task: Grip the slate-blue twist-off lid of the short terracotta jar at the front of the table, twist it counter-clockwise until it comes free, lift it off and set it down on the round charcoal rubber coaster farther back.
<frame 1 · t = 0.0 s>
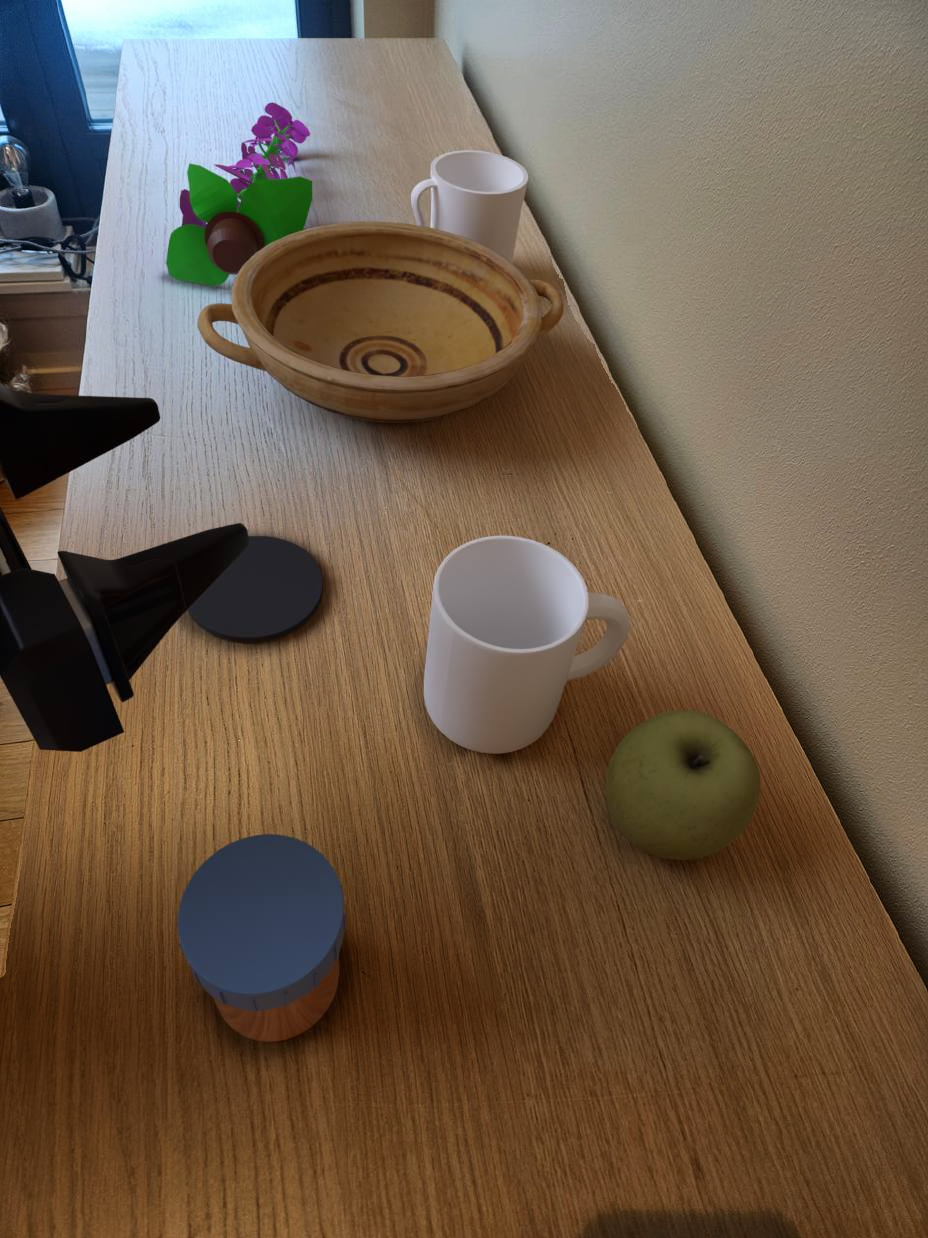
hand: (199, 467, 37), 18 cm above the table, tool horizontal, fingers open, 9 cm apart
mug 2: (458, 281, 85), on the table
coaster: (254, 589, 57), on the table
jar lid: (262, 912, 36), point 8 cm above the table, screwed on, not yet turned
mug: (517, 698, 54), on the table
ceramic bowl: (387, 382, 73), on the table
potted plant: (254, 223, 89), on the table
apple: (659, 820, 49), on the table
jar: (276, 975, 42), on the table
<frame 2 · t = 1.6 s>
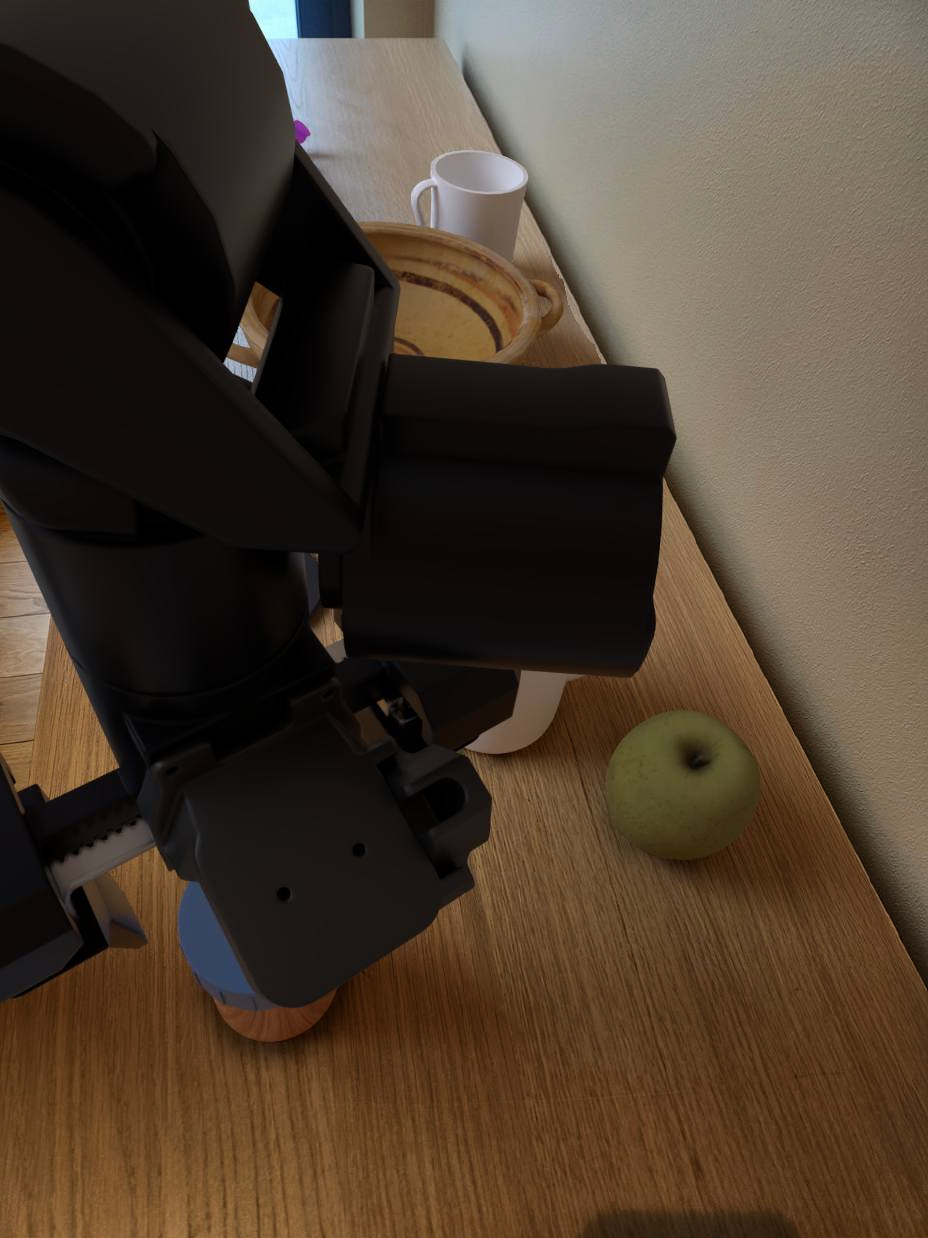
hand: (254, 869, 32), 12 cm above the table, tool pointing down, fingers open, 9 cm apart
nothing on the table moved.
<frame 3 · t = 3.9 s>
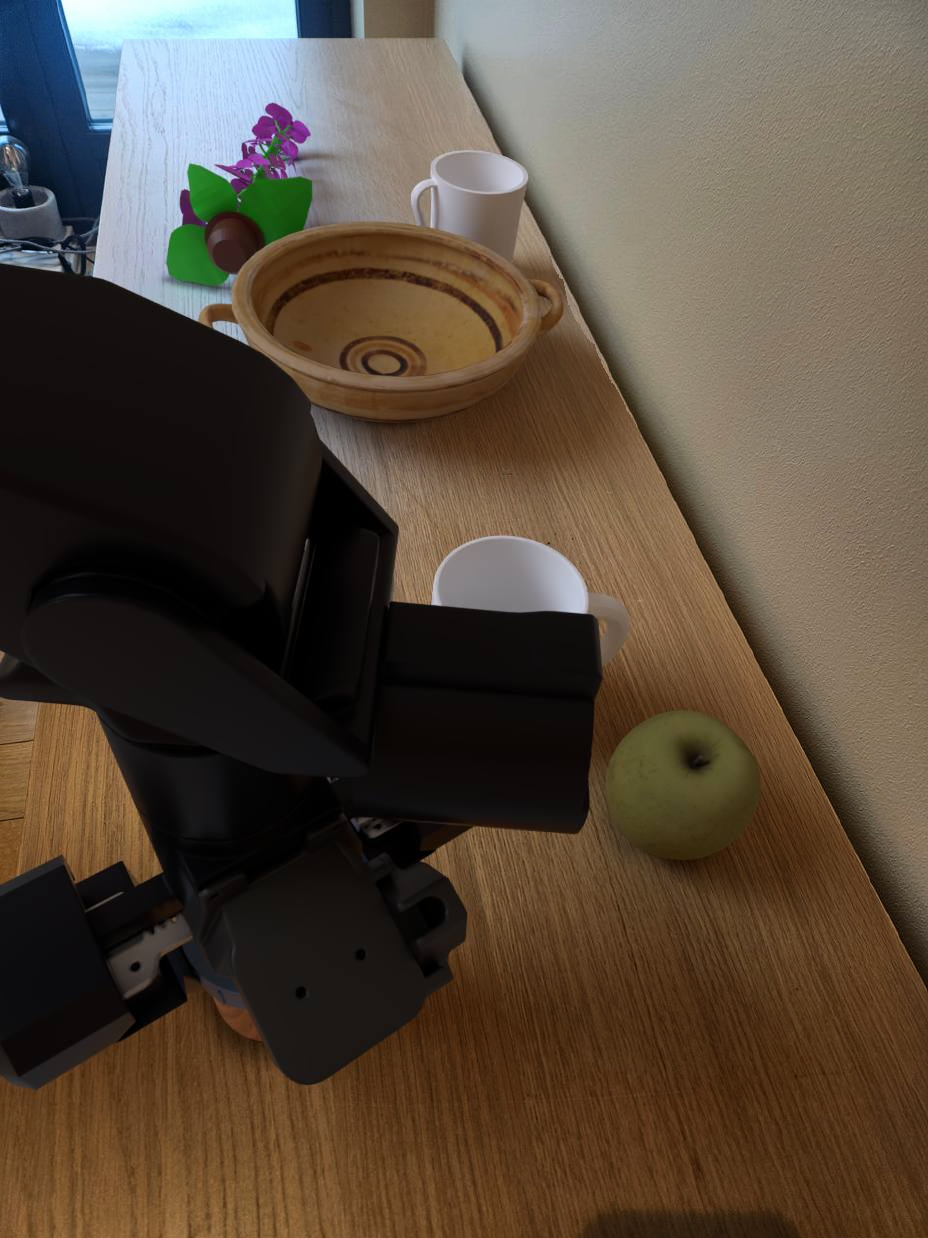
hand: (267, 937, 38), 5 cm above the table, tool pointing down, fingers closed on jar lid, 6 cm apart
jar lid: (262, 912, 36), point 8 cm above the table, screwed on, not yet turned, touching gripper
everything else where it was.
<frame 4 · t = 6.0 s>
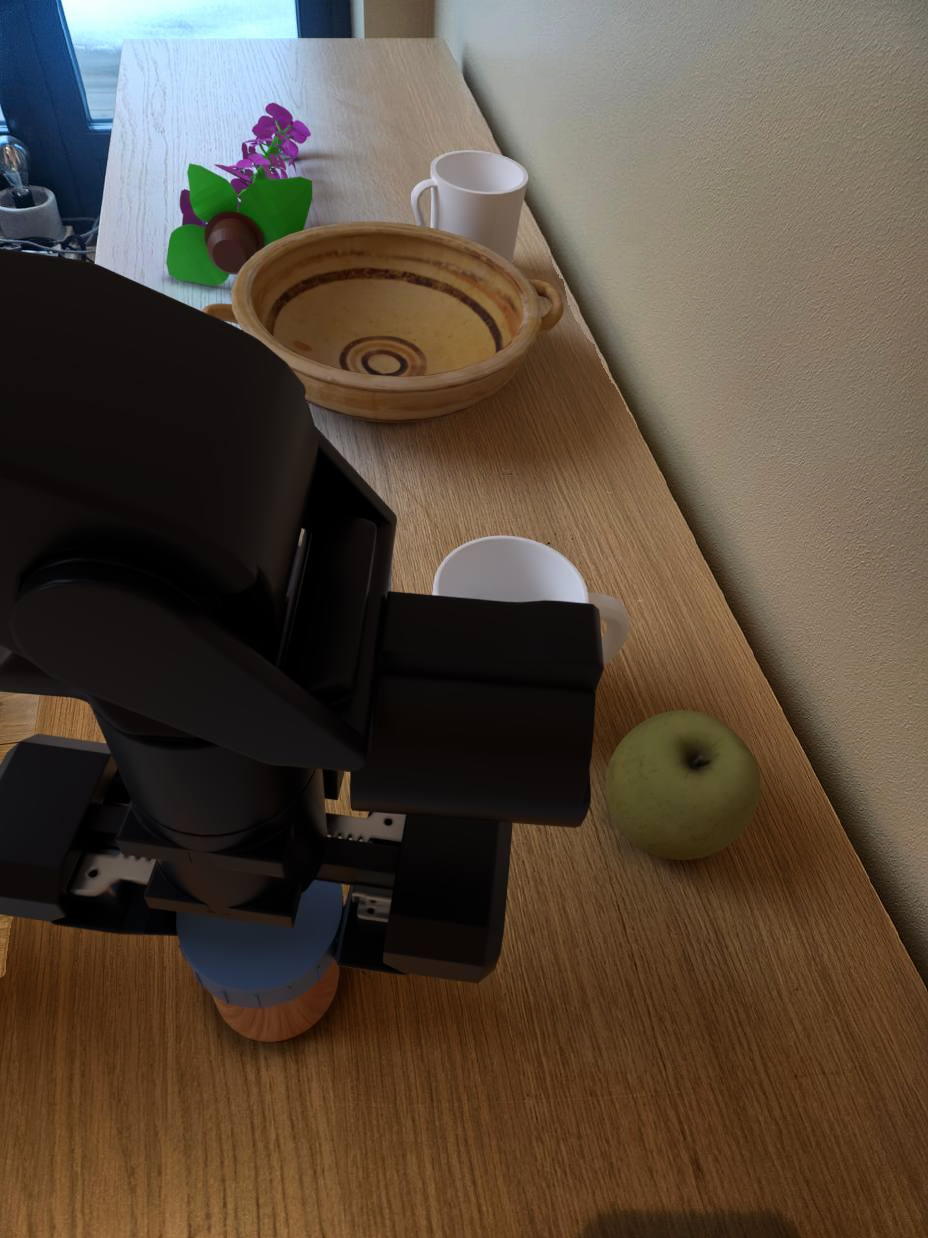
hand: (268, 934, 37), 6 cm above the table, tool pointing down, fingers closed on jar lid, 6 cm apart
jar lid: (261, 909, 35), point 8 cm above the table, turned 139° so far, risen 0.4 cm, still on its thread, touching gripper
everything else where it was.
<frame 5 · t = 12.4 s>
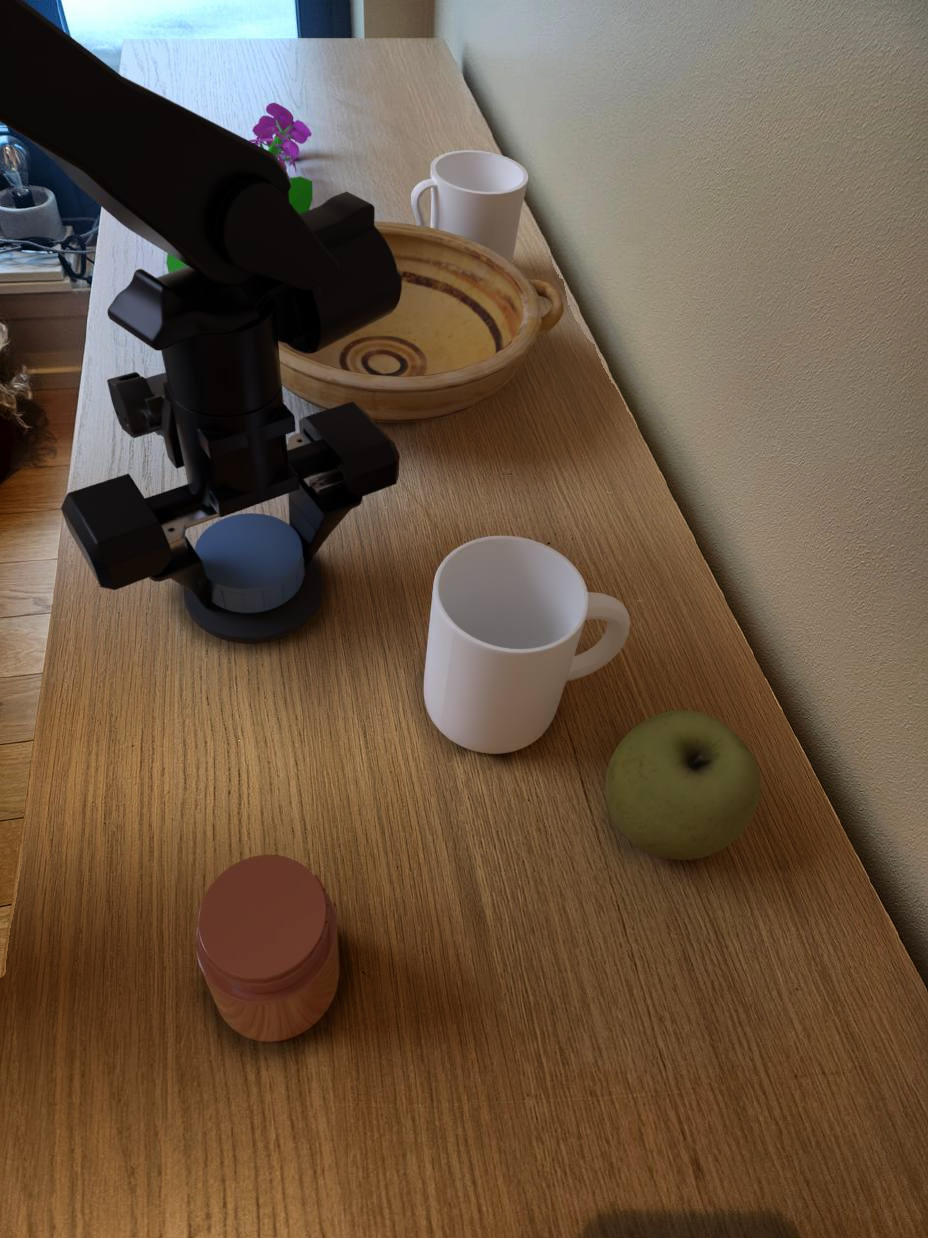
hand: (253, 583, 57), 1 cm above the table, tool pointing down, fingers closed on jar lid, 6 cm apart
jar lid: (249, 553, 54), point 3 cm above the table, off its thread, touching gripper
everything else where it was.
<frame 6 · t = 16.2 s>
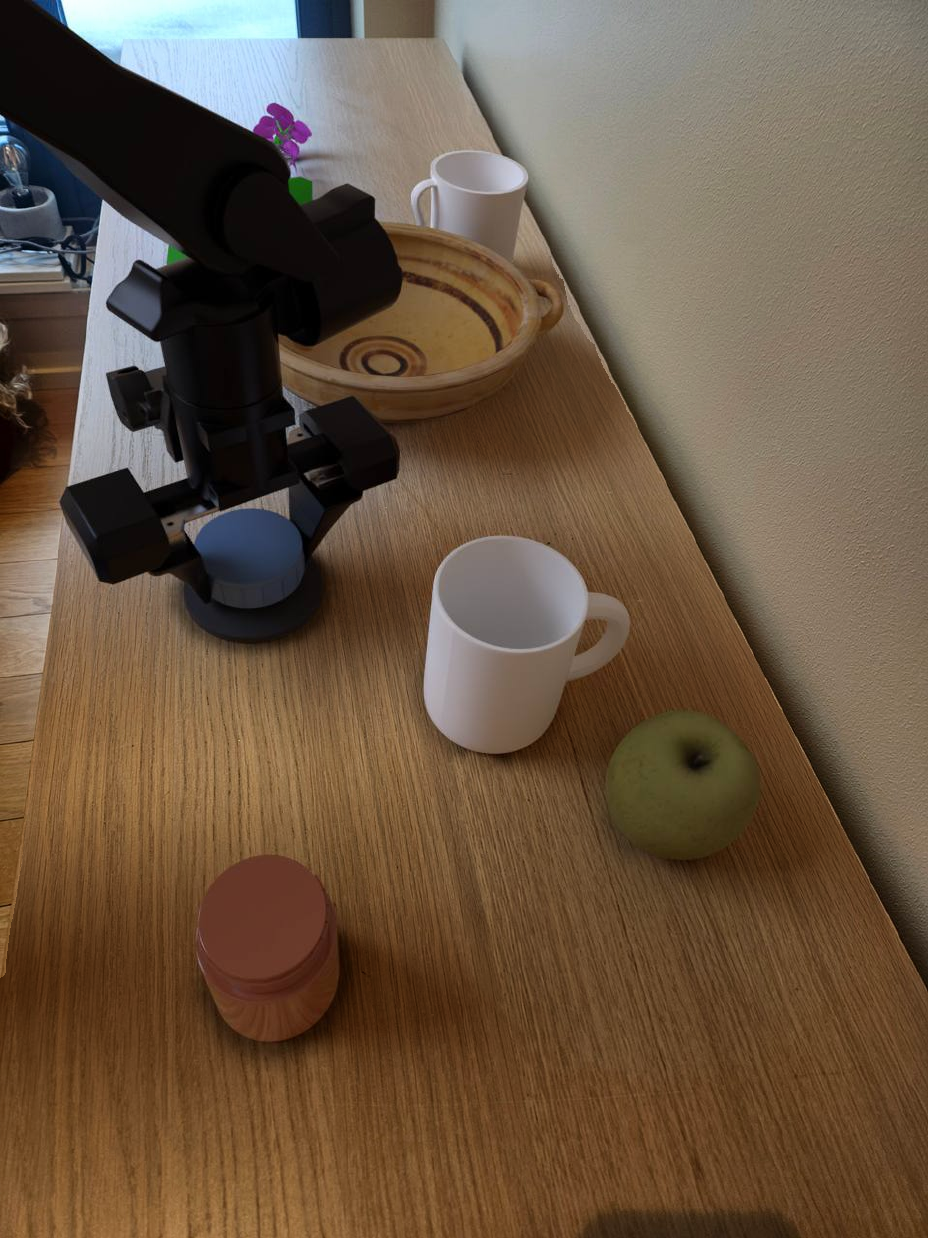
hand: (253, 579, 56), 1 cm above the table, tool pointing down, fingers closed on jar lid, 6 cm apart
jar lid: (249, 549, 54), point 4 cm above the table, off its thread, touching gripper
everything else where it was.
when the fingers open (1 cm above the table, at t = 19.9 s): jar lid drops 2 cm, resting on coaster.
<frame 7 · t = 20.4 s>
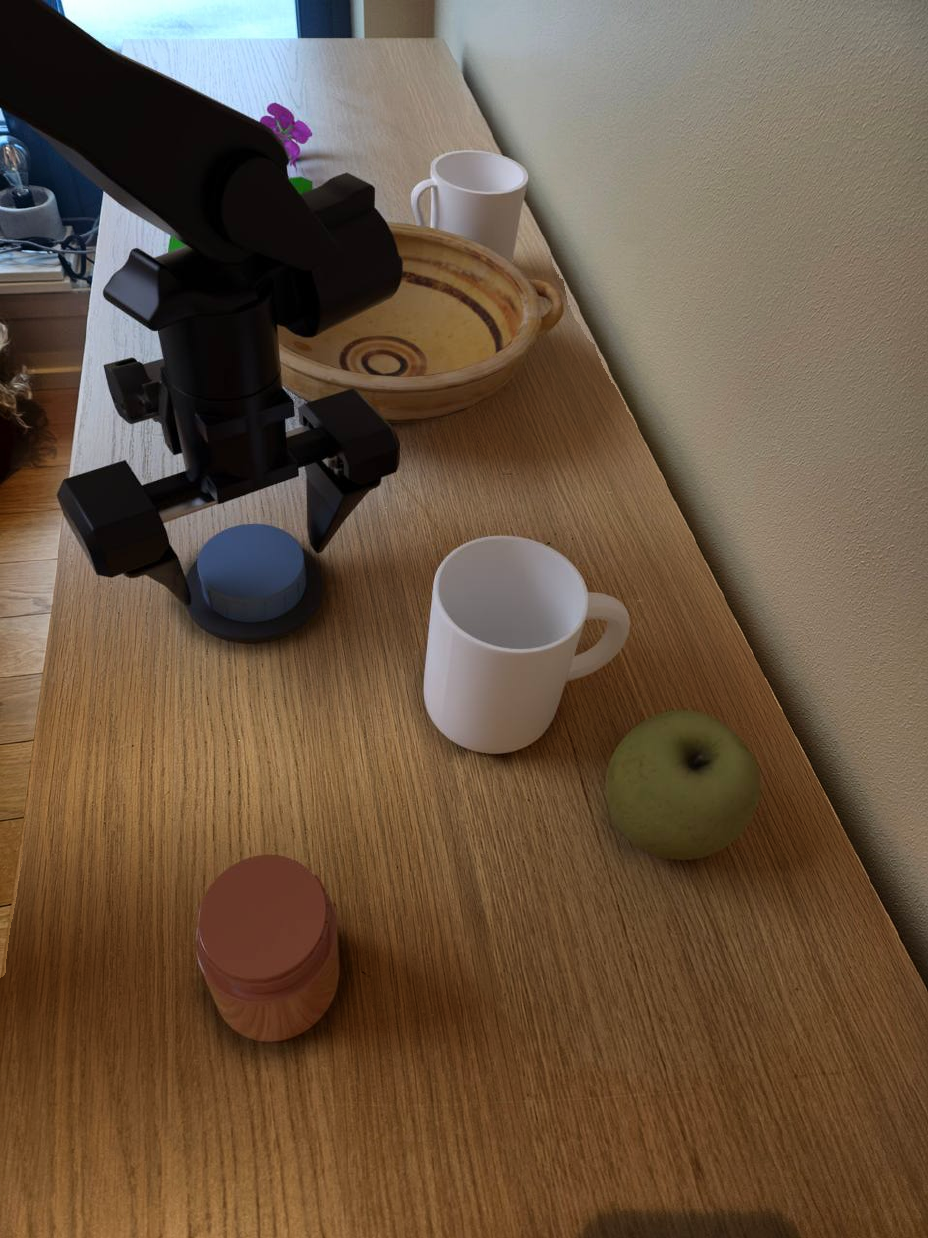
hand: (252, 573, 56), 2 cm above the table, tool pointing down, fingers open, 9 cm apart
jar lid: (251, 564, 55), point 2 cm above the table, off its thread, touching coaster
everything else where it was.
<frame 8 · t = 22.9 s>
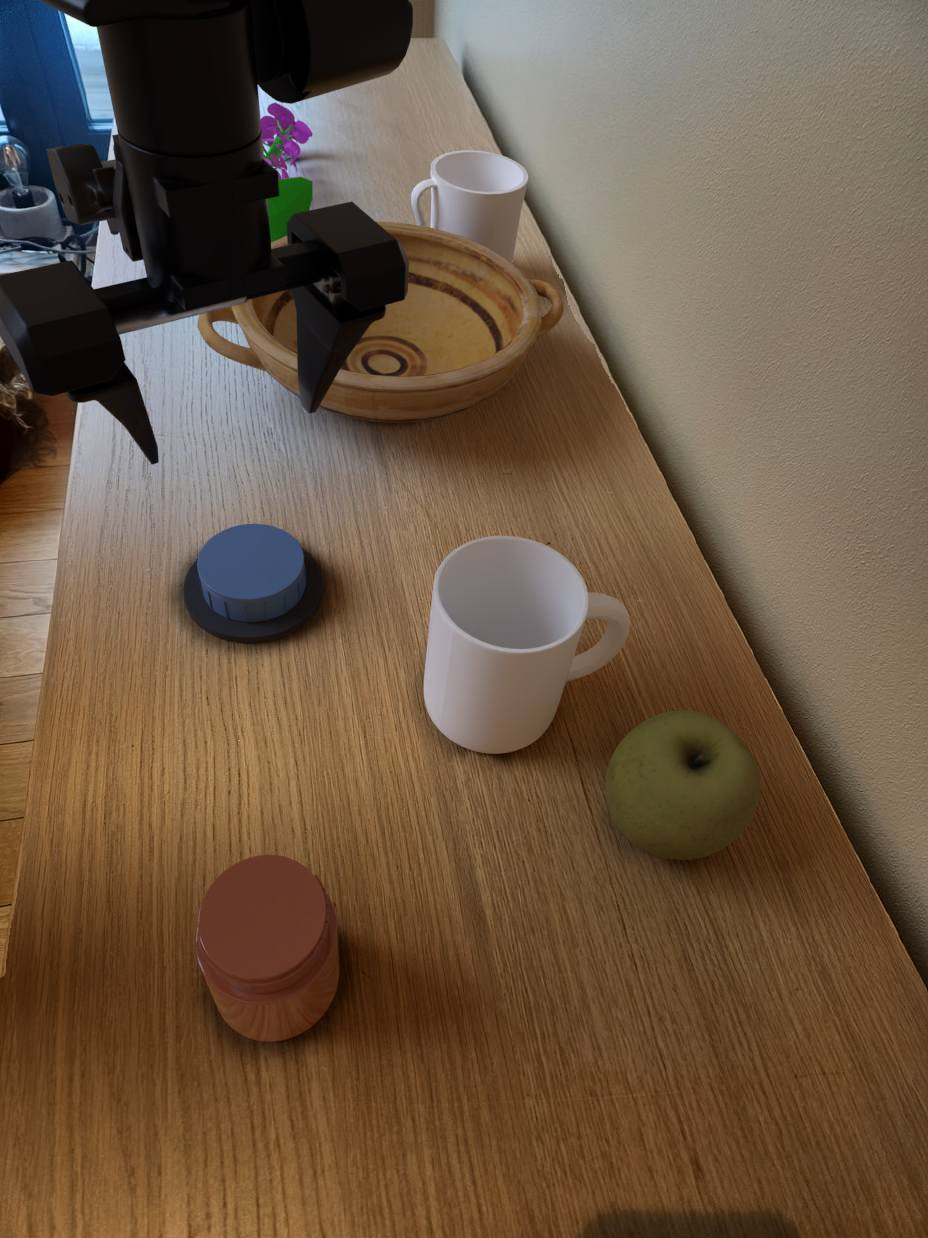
hand: (233, 432, 47), 13 cm above the table, tool pointing down, fingers open, 9 cm apart
nothing on the table moved.
at the end: jar lid point 2.5 cm above the table; the gripper is holding nothing; jar lid inside the target area on the coaster (0.0 cm from its centre), point 2.5 cm above the coaster's base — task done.
